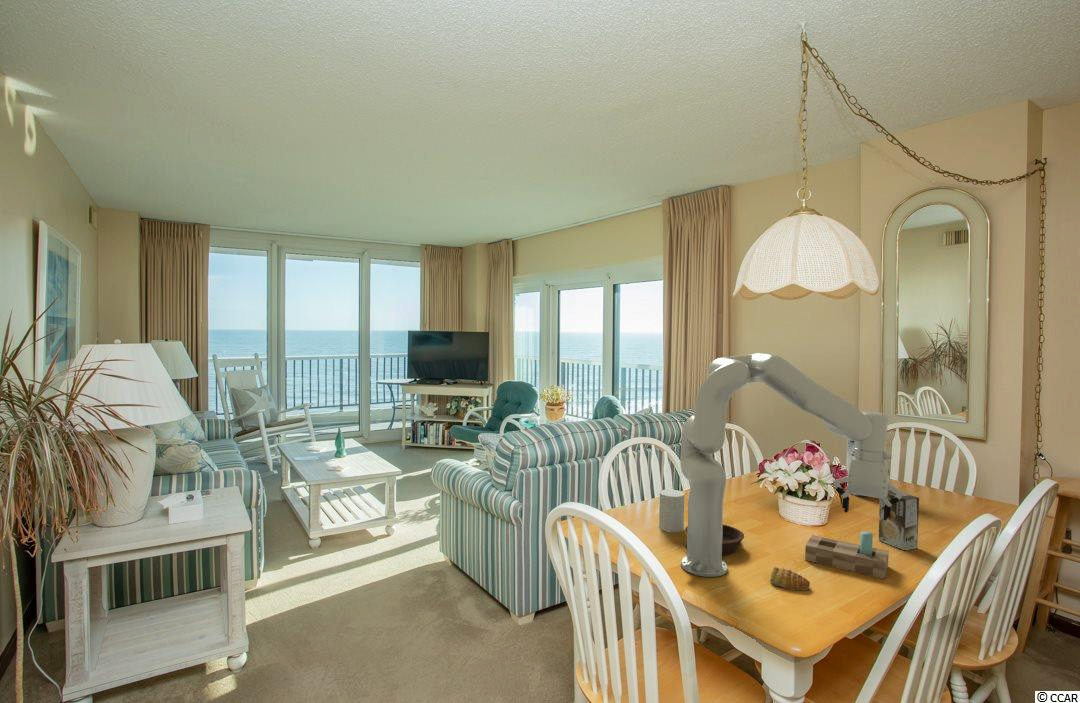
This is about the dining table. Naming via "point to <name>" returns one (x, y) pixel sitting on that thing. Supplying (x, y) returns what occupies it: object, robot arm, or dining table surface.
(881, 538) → the coffee box
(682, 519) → the grey cylinder
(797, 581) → the pastry
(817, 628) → the dining table surface
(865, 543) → the peg
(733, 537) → the dish
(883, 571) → the hole block
